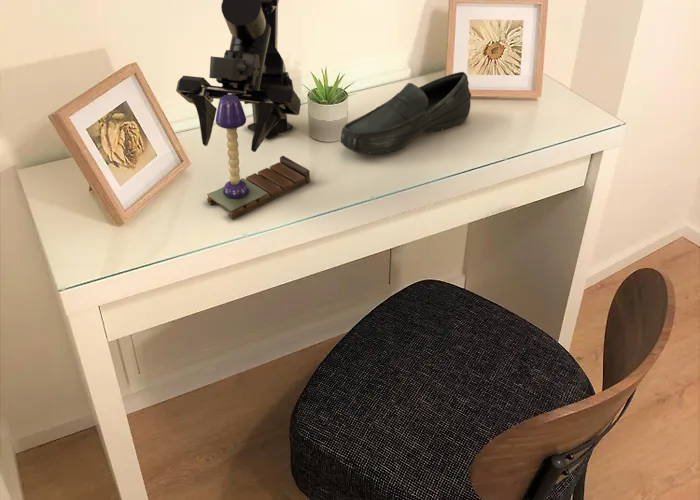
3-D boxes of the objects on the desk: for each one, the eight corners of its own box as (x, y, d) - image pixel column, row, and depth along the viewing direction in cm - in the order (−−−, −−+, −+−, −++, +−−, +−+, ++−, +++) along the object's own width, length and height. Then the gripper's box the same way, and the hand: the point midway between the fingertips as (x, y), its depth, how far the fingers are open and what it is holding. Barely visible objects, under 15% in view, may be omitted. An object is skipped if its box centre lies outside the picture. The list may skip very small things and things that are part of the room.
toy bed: (232, 220, 121) (231, 207, 119) (207, 202, 125) (205, 190, 123) (310, 182, 130) (309, 170, 128) (284, 167, 134) (283, 155, 132)
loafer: (329, 150, 138) (327, 99, 132) (438, 103, 154) (441, 55, 148) (367, 172, 132) (367, 119, 126) (477, 120, 147) (482, 71, 141)
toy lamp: (251, 183, 126) (243, 90, 116) (253, 198, 122) (244, 103, 113) (222, 186, 125) (211, 92, 116) (223, 201, 122) (212, 105, 112)
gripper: (172, 25, 113) (150, 125, 111) (291, 35, 109) (271, 139, 107) (199, 55, 124) (180, 146, 122) (309, 65, 120) (291, 160, 118)
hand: (228, 148), depth 117 cm, fingers open, 8 cm apart
